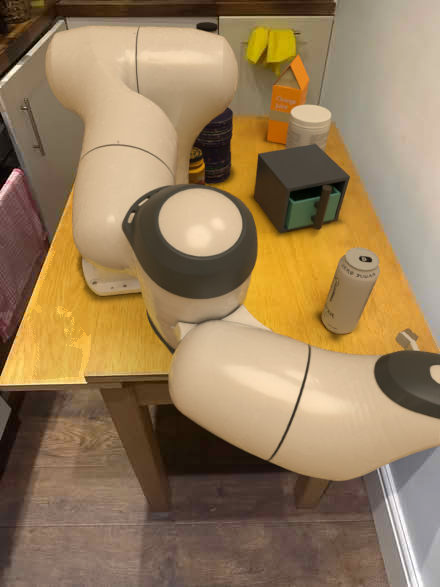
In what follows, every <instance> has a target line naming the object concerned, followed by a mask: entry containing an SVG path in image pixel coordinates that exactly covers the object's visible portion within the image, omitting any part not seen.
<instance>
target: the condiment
mask: <svg viewBox="0 0 440 587" xmlns="http://www.w3.org/2000/svg"><path fill="white" fill-rule="evenodd" d="M189 184H199V185H206V183H205V164H204V162H203V153H202V151H201V150H200V149H198V148H195V147H192V149H191V153H190V159H189Z"/></svg>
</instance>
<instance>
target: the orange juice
mask: <svg viewBox="0 0 440 587" xmlns="http://www.w3.org/2000/svg"><path fill="white" fill-rule="evenodd" d="M309 83H310V77H309V75H308V72H307V70H306V68H305V66H304V64H303V61H302V59H301V56H300V54H297V55H296V56H295V57H294V58H293V60H292V61H291V62H290V63H289V65H288V66H287V67H286V68H285V69H284V70H283V72H282V73H281V74H280V75H279V77H278V78H277V79H276V80H275V82H274V83H273V84H272V90H271V91H272V92H271V99H270V100H271V101H270V109H269V115H268V127H267V135H266V142H267V141H268V142H272V143H277V144H282V145H286V138H287V131H288V123H289V117H290V113H291V110H292V109H293V108H294V107H296V106H299V105H306V101H307V96H308V95H307V94H308V91H309V90H308V89H309Z"/></svg>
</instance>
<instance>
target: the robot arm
mask: <svg viewBox="0 0 440 587" xmlns="http://www.w3.org/2000/svg"><path fill="white" fill-rule="evenodd" d="M44 66H45V68H44V69H45V76H46V80H47V83H48V85H49V88H50V90H51V91H52V94H53V95H54V96H55V98H56V99H57V101H58V102H59V103H60V105H62V106H63V108H65V109H66V110H68V111H69V112H72V113H74V114H75V115H77V116H78V118H79V119H81V121H82V122H83V125H84V130H83V138H82V146H81V151H80V155H79V160H78V165H77V170H76V175H75V179H74V186H73V193H72V210H71V211H72V212H71V221H72V222H71V224H72V227H71V228H72V239H73V243H74V246H75V248H76V250H77V251H78V253H79V255H80V256H81V257H82V258H81V259H82V260H81V265H82V266H81V267H82V272H83V277H84V280H85V282H86V284H87V286H88V288H89V289H90V290H91V291H92V292H93V293H94V294H95V295H97V296H99V297H106V296H115V295H126V294H137V293H141V296H142V299H143V303H144V306H145V311H146V312H145V313H146V317H147V321H148V323H149V325H150V328H151V329H152V331H153V332H154V333H155V335H156V337H157V338H158V339H159V340H160V342H162V343H163V345H164V346H165V347H166V349H167V350H168V351H169V352H170V354H171V355H172V357H171V360H170V364H169V369H168V376H167V377H168V380H167V381H168V382H167V383H168V392H169V397H170V399H171V402H172V404H173V405H174V407H175V408H176V409H177V410H178V411H179V412H180V413H181V414H182V415H184V416H185V417H186V418H187V419H189V420H191V421H192V422H194V423H195V424H197V426H200V427H201V428H203V429H205V430H206V431H208V432H209V433H211V434H213V435H214V436H216V437H218V438H220V439H221V440H223V441H225V442H227V443H229V444H230V445H232V446H235V447H236V448H238V449H240V450H243V451H244V452H246V453H249V454H250V455H253V456H255V457H257V458H260V459H261V460H264V461H267V462H269V463H271V464H273V465H276V466H279V467H281V468H283V469H285V470H288V471H291V472H293V473H296V474H299V475H302V476H306V477H310V478H315V479H322V480H327V481H335V482H343V481H350V480H353V479H356V478H360V477H362V476H365V475H367V474H370V473H372V472H374V471H376V470H378V469H380V468H382V467H384V466H386V465H389V464H391V463H393V462H396V461H397V460H400V459H403V458H406V457H407V456H410V455H411V456H412V455H414V454H417V453H419V452H422V451H425V450H429V449H432V448H436V447H440V351H439V352H437V353H436V352H431V351H425V350H420V349H419V346H418V344H417V342H416V341H417V340H418V339H419V336H418V334H416V333H415V332H414V331H412V329H411V328H405V329H403V330H400V331H399V332H398V333H397V335H396V336H395V341H396V343H397V344H398V345H399V346H400V347H401V348H403V350H397V351H393V352H388V353H385V354H359V353H358V354H357V353H348V352H341V351H335V350H330V349H326V348H322V347H319V346H315V345H312V344H310V343H307V342H305V341H302V340H299V339H296V338H294V337H291V336H288V335H286V334H285V335H284V334H282V333H279V332H275V331H273V329H272V328H269V327H268V326H266V325H264V324H263V323H261V321H259V320H258V319H257V318H255V316H254V315H253V314H251V312H250V311H249V310H248V309H247V307H246V306H245V304H244V303H245V301H246V298H247V295H248V292H249V288H250V285H251V281H252V273H253V271H254V269H255V267H256V263H257V260H258V251H259V250H258V249H259V248H258V246H259V242H258V241H259V240H258V239H259V238H258V230H257V225H256V222H255V218H254V215H253V214H252V211H251V210H250V209H249V207H248V206H247V205H246V203H244V202H243V201H242V200H241V199H240V198H239V197H237V196H235V195H234V194H232V193H230V192H229V191H227V190H224V189H221V188H218V187H216V186H211V185H206V184H205V185H199V184H189V159H190V153H191V149H192V146H193V144H194V142H195V140H196V138H197V136H198V135H199V133H200V132H201V131H202V130H203V128H204V127H205V126H206V125H207V124H208V123H209V122H210V121H211V120H213V119H214V118H215V117H217V116H218V115H220V114H221V113H222V112H224V111H225V110H226V108H227V107H228V108H229V106H230V105H231V103H232V101H233V99H234V97H235V95H236V93H237V90H238V84H239V65H238V59H237V56H236V54H235V51H234V49H233V48H232V46H231V44H230V43H229V41H228V40H227V38H226V37H225V36H223V35H220V34H218V33H217V34H213V33H210V32H206V31H202V30H198V29H196V28H193V27H185V26H184V27H183V26H181V27H177V26H145V25H144V26H143V25H141V26H127V25H126V26H124V25H96V24H95V25H86V26H81V27H74V28H70V29H66V30H62V31H58V32H56V33H54V35H53V36H52V38H51V40H50V42H48V46H47V49H46V52H45V58H44Z"/></svg>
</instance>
